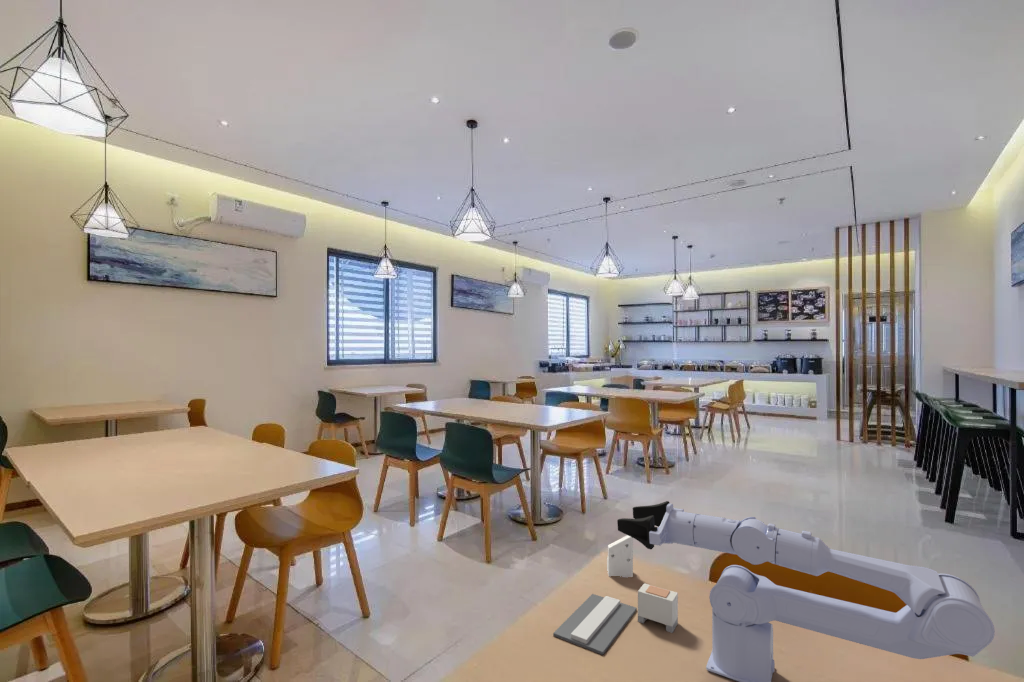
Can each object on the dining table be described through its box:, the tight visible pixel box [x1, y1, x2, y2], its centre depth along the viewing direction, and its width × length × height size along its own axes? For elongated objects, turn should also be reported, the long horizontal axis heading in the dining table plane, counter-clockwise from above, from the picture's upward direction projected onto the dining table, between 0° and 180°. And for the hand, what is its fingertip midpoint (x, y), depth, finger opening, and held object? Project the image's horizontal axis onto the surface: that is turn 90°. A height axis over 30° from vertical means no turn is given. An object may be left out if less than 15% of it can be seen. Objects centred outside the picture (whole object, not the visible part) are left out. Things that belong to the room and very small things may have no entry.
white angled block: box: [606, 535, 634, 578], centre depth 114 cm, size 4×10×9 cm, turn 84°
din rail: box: [552, 593, 638, 656], centre depth 93 cm, size 10×18×1 cm, turn 146°
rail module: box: [637, 583, 679, 634], centre depth 93 cm, size 7×4×6 cm, turn 56°
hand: (626, 518), depth 92 cm, fingers open, 7 cm apart
